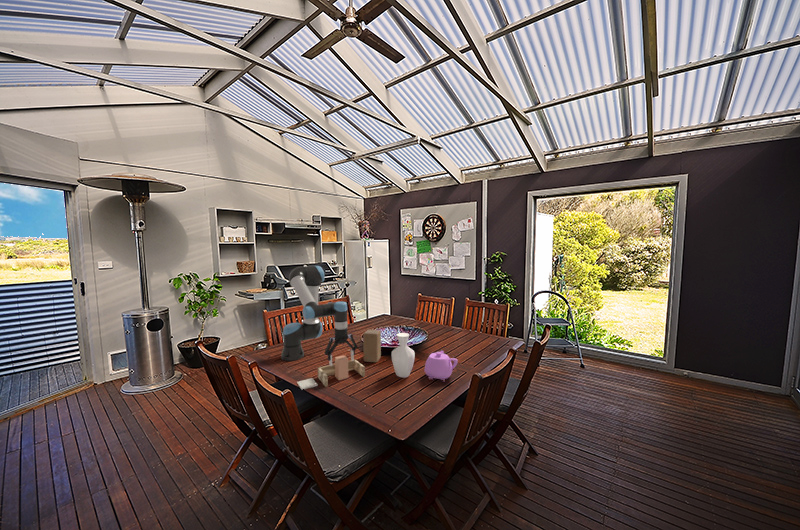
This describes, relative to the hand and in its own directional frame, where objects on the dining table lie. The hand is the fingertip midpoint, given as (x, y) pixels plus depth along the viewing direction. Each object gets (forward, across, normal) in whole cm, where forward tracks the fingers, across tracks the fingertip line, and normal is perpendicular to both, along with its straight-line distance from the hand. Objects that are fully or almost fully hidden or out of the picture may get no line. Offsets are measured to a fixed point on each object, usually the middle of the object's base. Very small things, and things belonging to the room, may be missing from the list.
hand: (341, 362), depth 179 cm
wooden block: (+9, +28, +14) cm, 33 cm away
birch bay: (+9, 0, 0) cm, 9 cm away
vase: (+9, +33, -17) cm, 38 cm away
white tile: (+9, -20, +2) cm, 22 cm away
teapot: (+10, +52, -31) cm, 61 cm away
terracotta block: (+9, 0, 0) cm, 9 cm away
